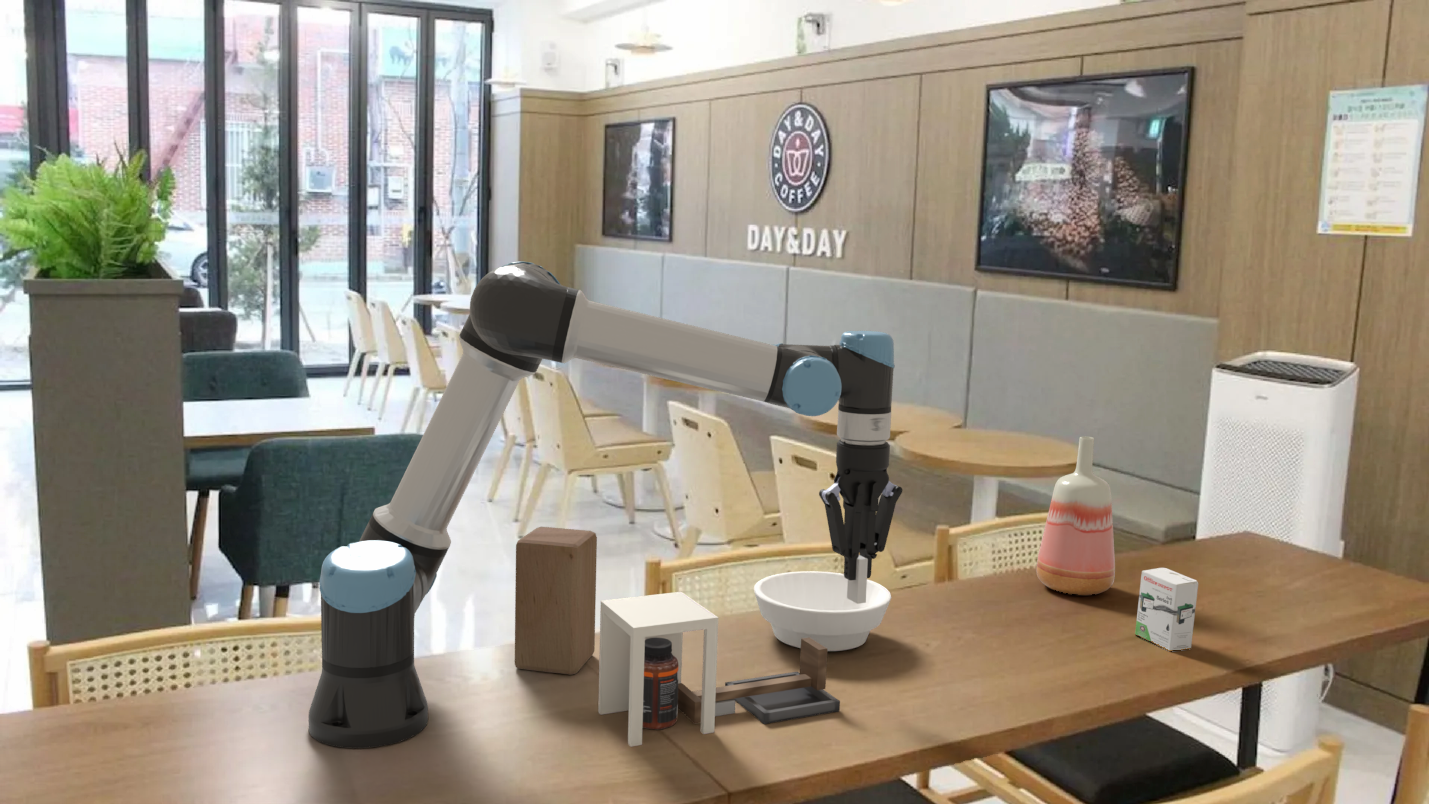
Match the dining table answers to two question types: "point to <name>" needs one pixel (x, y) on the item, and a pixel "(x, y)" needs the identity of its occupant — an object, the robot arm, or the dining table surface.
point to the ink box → (1166, 608)
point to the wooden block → (555, 599)
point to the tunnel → (625, 648)
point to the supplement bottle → (660, 684)
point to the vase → (1079, 531)
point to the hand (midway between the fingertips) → (856, 600)
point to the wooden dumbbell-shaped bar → (764, 682)
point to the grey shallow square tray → (787, 702)
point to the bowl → (819, 608)
